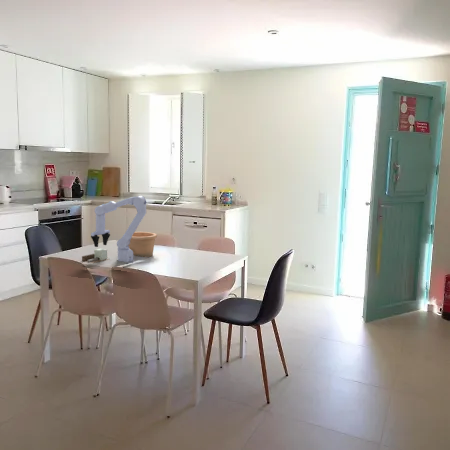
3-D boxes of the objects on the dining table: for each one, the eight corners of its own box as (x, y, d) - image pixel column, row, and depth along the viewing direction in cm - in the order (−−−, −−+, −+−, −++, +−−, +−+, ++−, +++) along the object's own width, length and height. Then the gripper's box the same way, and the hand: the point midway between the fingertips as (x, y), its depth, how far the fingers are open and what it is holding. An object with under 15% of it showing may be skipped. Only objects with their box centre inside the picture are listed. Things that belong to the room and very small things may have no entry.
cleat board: (110, 261, 288) (110, 254, 288) (94, 265, 276) (93, 258, 276) (98, 259, 293) (98, 252, 292) (82, 263, 281) (81, 256, 280)
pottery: (133, 260, 295) (134, 238, 293) (118, 253, 312) (118, 233, 309) (162, 256, 309) (162, 235, 306) (146, 250, 325) (146, 230, 323)
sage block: (107, 258, 289) (107, 249, 288) (101, 260, 284) (101, 250, 283) (100, 257, 291) (100, 248, 291) (94, 259, 287) (94, 249, 286)
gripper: (103, 222, 293) (104, 243, 295) (87, 225, 280) (87, 246, 282) (112, 223, 290) (112, 244, 292) (95, 226, 277) (95, 248, 279)
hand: (100, 245), depth 287 cm, fingers open, 7 cm apart
